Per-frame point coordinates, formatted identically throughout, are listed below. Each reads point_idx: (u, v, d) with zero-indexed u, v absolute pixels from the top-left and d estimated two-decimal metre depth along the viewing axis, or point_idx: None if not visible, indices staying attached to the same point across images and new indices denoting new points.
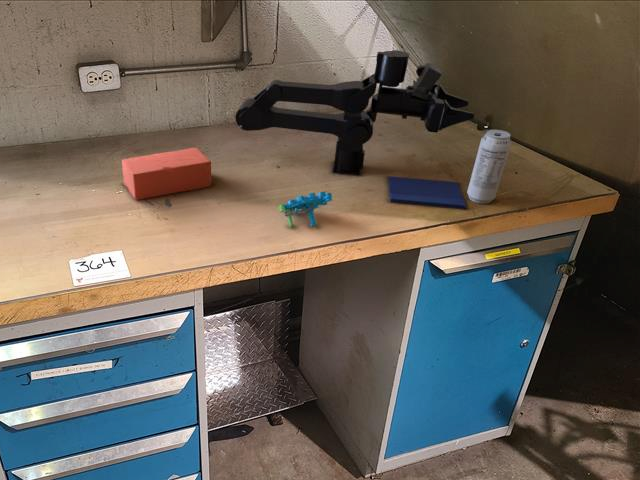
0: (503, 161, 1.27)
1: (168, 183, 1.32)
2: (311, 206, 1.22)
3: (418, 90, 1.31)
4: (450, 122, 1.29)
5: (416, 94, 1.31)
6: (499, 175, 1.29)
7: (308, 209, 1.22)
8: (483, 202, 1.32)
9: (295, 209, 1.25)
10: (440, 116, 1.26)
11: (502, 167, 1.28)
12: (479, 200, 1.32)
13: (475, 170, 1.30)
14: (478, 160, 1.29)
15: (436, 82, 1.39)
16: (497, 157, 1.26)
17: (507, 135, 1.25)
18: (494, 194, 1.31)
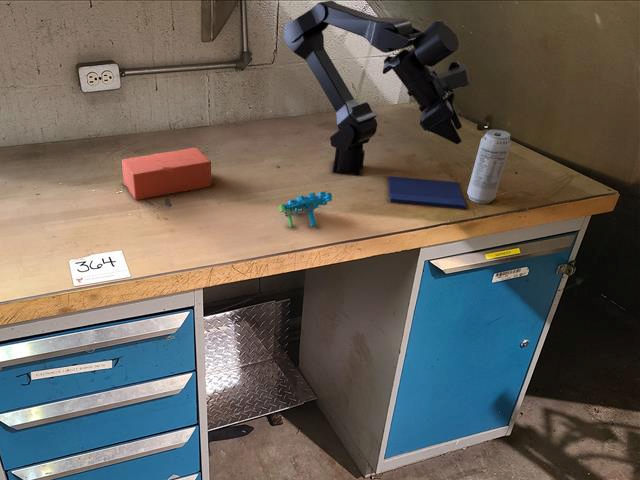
0: (503, 161, 1.27)
1: (168, 183, 1.32)
2: (311, 206, 1.22)
3: (440, 81, 1.22)
4: (440, 131, 1.23)
5: (436, 83, 1.22)
6: (499, 175, 1.29)
7: (308, 209, 1.22)
8: (483, 202, 1.32)
9: (295, 209, 1.25)
10: (439, 119, 1.19)
11: (502, 167, 1.28)
12: (479, 200, 1.32)
13: (475, 170, 1.30)
14: (478, 160, 1.29)
15: None
16: (497, 157, 1.26)
17: (507, 135, 1.25)
18: (494, 194, 1.31)
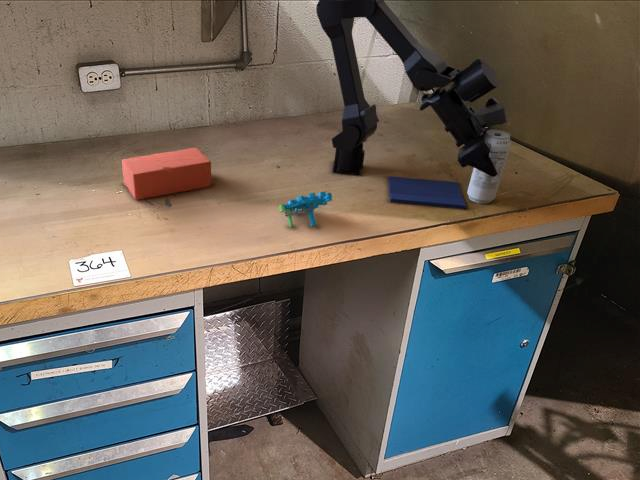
0: (503, 161, 1.27)
1: (168, 183, 1.32)
2: (311, 206, 1.22)
3: (478, 118, 1.23)
4: (477, 165, 1.26)
5: (473, 120, 1.23)
6: (499, 175, 1.29)
7: (308, 209, 1.22)
8: (483, 202, 1.32)
9: (295, 209, 1.25)
10: (478, 157, 1.21)
11: (502, 167, 1.28)
12: (479, 200, 1.32)
13: (475, 170, 1.30)
14: None
15: None
16: (497, 157, 1.26)
17: (507, 135, 1.25)
18: (494, 194, 1.31)
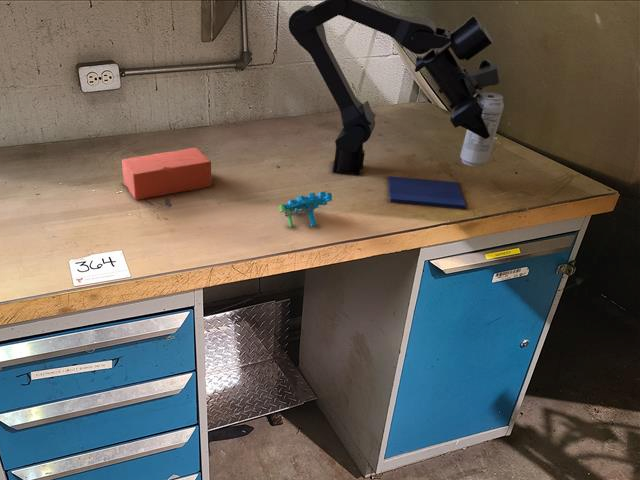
0: (496, 123, 1.28)
1: (168, 183, 1.32)
2: (311, 206, 1.22)
3: (471, 79, 1.24)
4: (469, 126, 1.27)
5: (467, 81, 1.25)
6: (492, 137, 1.30)
7: (308, 209, 1.22)
8: (475, 165, 1.34)
9: (295, 209, 1.25)
10: (470, 117, 1.22)
11: (495, 129, 1.29)
12: (471, 163, 1.33)
13: (468, 132, 1.31)
14: None
15: None
16: (489, 118, 1.27)
17: (500, 97, 1.26)
18: (486, 157, 1.33)
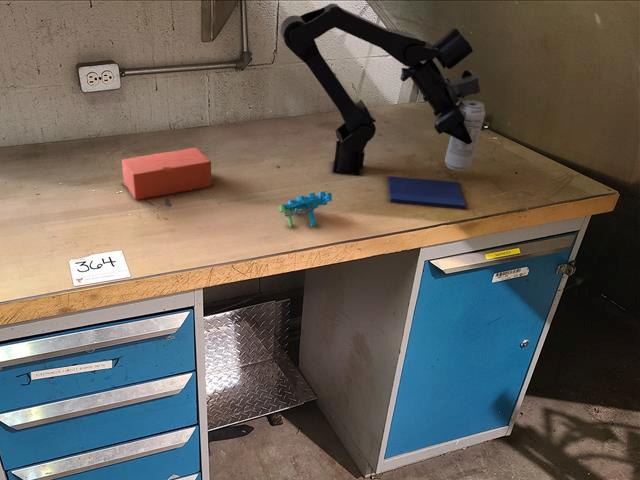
0: (478, 129, 1.35)
1: (168, 183, 1.32)
2: (311, 206, 1.22)
3: (454, 88, 1.31)
4: (453, 132, 1.34)
5: (450, 90, 1.32)
6: (474, 143, 1.37)
7: (308, 209, 1.22)
8: (459, 169, 1.41)
9: (295, 209, 1.25)
10: (453, 124, 1.29)
11: (477, 135, 1.36)
12: (455, 167, 1.40)
13: (452, 138, 1.38)
14: None
15: None
16: (472, 125, 1.34)
17: (481, 105, 1.33)
18: (469, 161, 1.40)
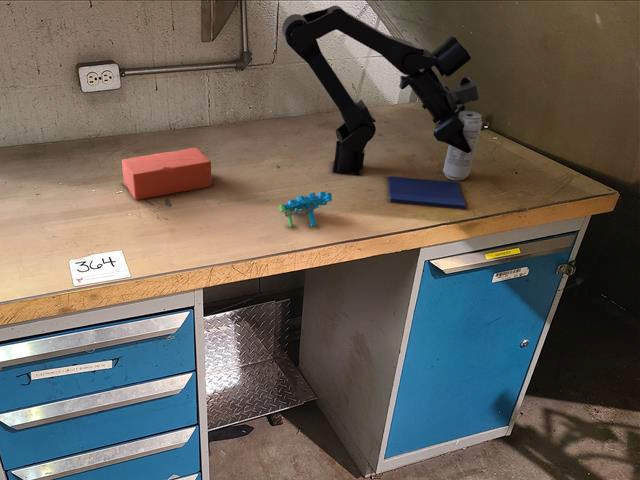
0: (475, 140, 1.36)
1: (168, 183, 1.32)
2: (311, 206, 1.22)
3: (452, 95, 1.32)
4: (452, 142, 1.34)
5: (448, 97, 1.33)
6: (472, 153, 1.38)
7: (308, 209, 1.22)
8: (457, 179, 1.42)
9: (295, 209, 1.25)
10: (452, 131, 1.30)
11: (474, 145, 1.37)
12: (454, 177, 1.42)
13: (450, 149, 1.40)
14: None
15: None
16: (469, 135, 1.35)
17: (478, 115, 1.35)
18: (467, 171, 1.41)
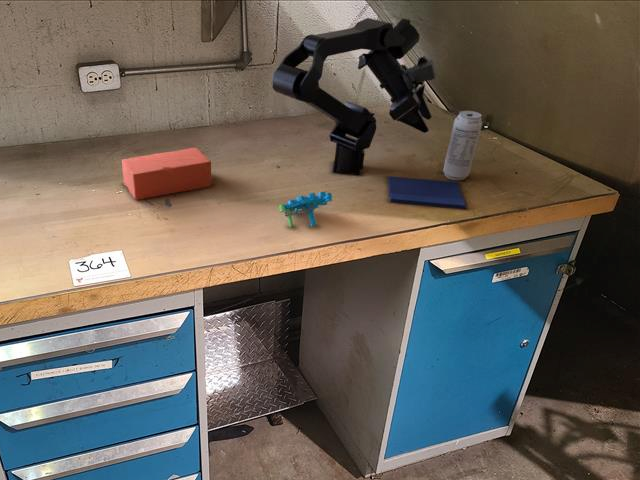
0: (475, 140, 1.36)
1: (168, 183, 1.32)
2: (311, 206, 1.22)
3: (408, 75, 1.33)
4: (408, 121, 1.35)
5: (405, 77, 1.34)
6: (472, 153, 1.38)
7: (308, 209, 1.22)
8: (457, 179, 1.42)
9: (295, 209, 1.25)
10: (407, 110, 1.31)
11: (474, 145, 1.37)
12: (454, 177, 1.42)
13: (450, 149, 1.40)
14: (452, 139, 1.38)
15: (423, 81, 1.43)
16: (469, 135, 1.35)
17: (478, 115, 1.35)
18: (467, 171, 1.41)
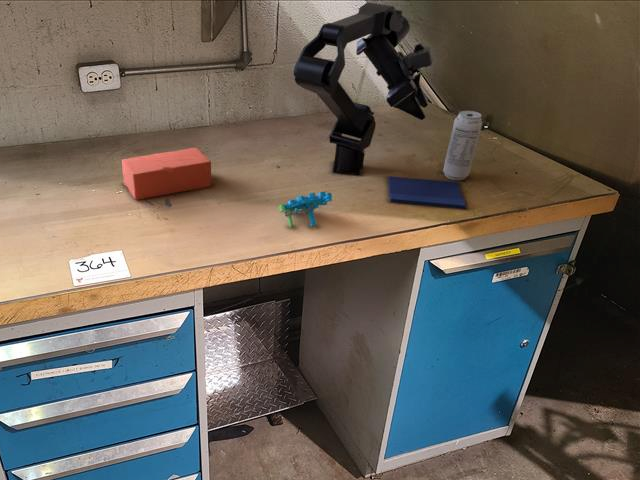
0: (475, 140, 1.36)
1: (168, 183, 1.32)
2: (311, 206, 1.22)
3: (405, 62, 1.33)
4: (405, 108, 1.35)
5: (401, 63, 1.33)
6: (472, 153, 1.38)
7: (308, 209, 1.22)
8: (457, 179, 1.42)
9: (295, 209, 1.25)
10: (404, 96, 1.31)
11: (474, 145, 1.37)
12: (454, 177, 1.42)
13: (450, 149, 1.40)
14: (452, 139, 1.38)
15: (419, 69, 1.43)
16: (469, 135, 1.35)
17: (478, 115, 1.35)
18: (467, 171, 1.41)
